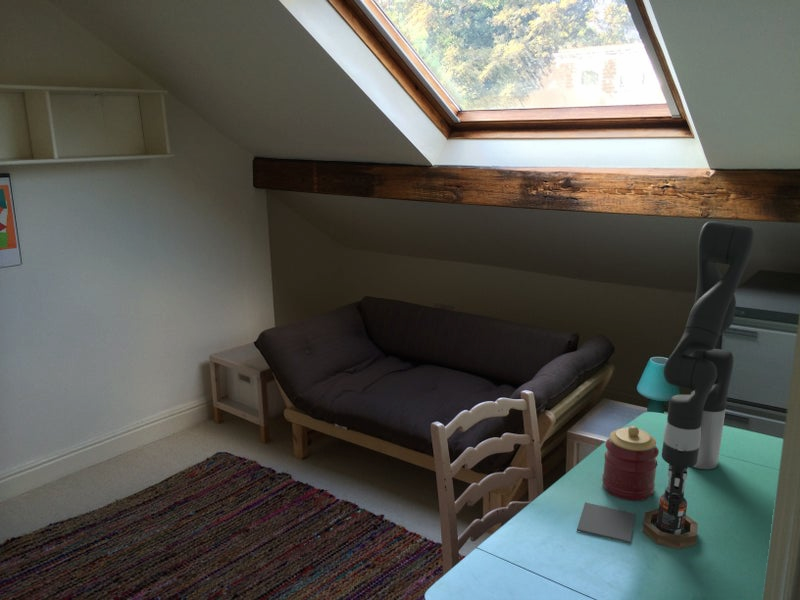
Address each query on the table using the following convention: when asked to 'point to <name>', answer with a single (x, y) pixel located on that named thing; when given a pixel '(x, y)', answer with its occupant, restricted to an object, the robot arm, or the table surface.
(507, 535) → the table surface
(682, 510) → the supplement bottle
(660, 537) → the collar
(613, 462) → the canister
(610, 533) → the coaster
